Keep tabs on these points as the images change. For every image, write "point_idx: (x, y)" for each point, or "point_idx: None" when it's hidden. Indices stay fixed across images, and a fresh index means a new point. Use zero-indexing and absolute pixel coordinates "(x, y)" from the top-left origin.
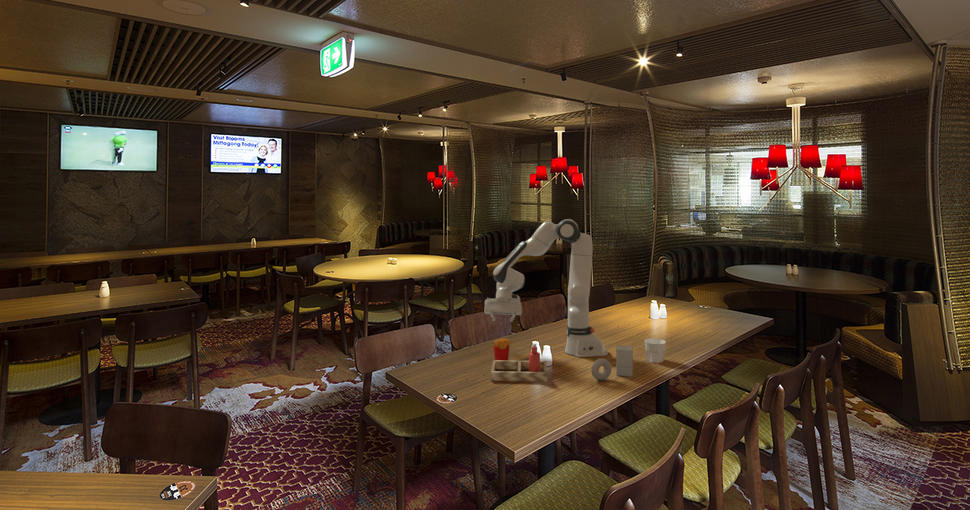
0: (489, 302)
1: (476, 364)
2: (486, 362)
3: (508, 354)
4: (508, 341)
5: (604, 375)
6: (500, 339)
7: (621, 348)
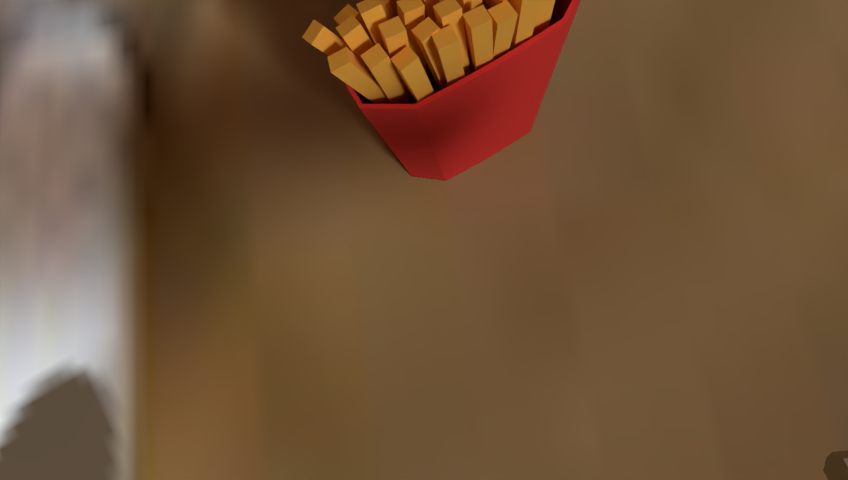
0: None
1: (755, 6)
2: (651, 92)
3: (368, 101)
4: (335, 36)
5: None
6: (482, 7)
7: None
